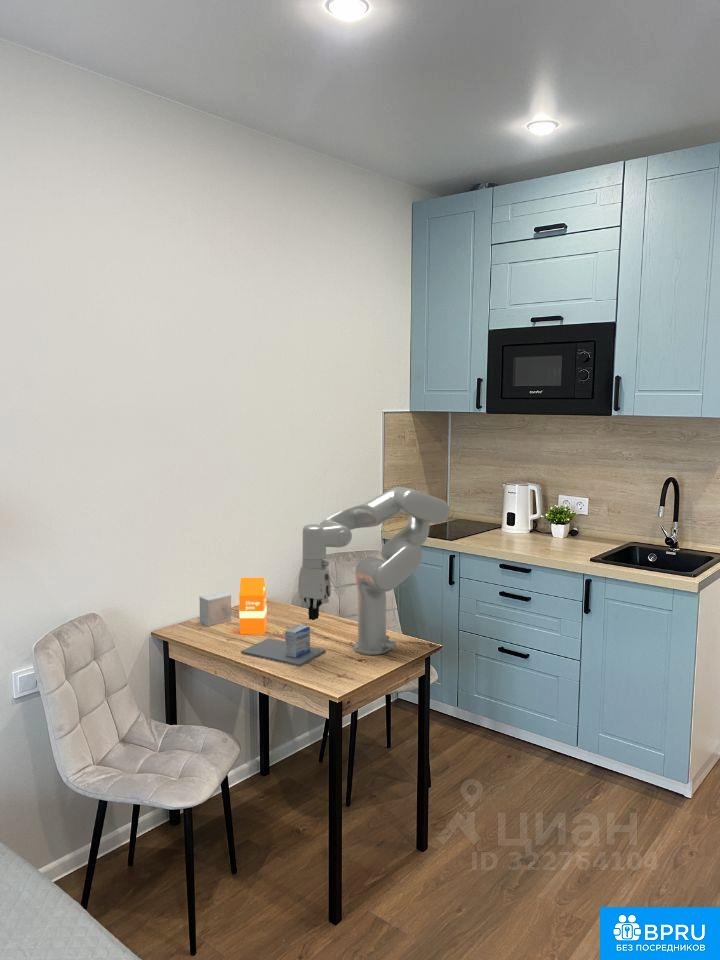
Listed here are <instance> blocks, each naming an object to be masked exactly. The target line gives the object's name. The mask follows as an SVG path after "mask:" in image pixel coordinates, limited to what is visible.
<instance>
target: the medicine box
mask: <svg viewBox="0 0 720 960" xmlns="http://www.w3.org/2000/svg"><path fill="white" fill-rule="evenodd" d="M284 635H285V637H284V638H285V640H284V641H285V646H286V656H290V657H294V658H297V657H299V656H301V655H303V654H305V653H307V652H309V651H310V647H311V628H310V626H309V625H305V624H298V625H296V626H293V627H292V628H289V629H286V630H285V631H284Z"/></svg>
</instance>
